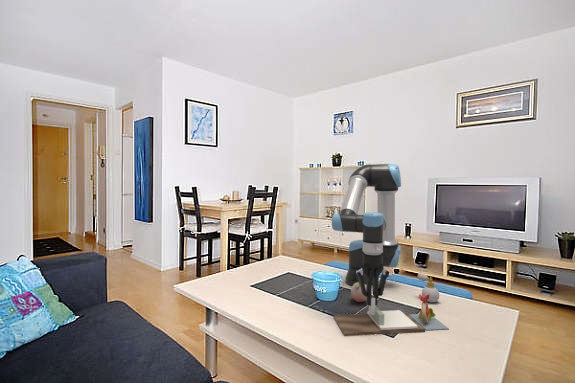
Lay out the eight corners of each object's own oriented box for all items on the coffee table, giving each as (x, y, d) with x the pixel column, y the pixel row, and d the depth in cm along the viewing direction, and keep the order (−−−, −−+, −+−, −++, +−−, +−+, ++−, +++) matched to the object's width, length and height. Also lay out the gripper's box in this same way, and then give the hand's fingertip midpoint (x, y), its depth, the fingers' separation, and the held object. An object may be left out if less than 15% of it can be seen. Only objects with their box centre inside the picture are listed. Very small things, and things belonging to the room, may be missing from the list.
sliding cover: (367, 313, 125) (367, 301, 125) (399, 312, 126) (400, 300, 126) (381, 329, 111) (381, 316, 111) (417, 328, 112) (417, 315, 112)
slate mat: (408, 315, 126) (408, 314, 126) (429, 314, 127) (429, 313, 127) (426, 330, 113) (426, 329, 113) (448, 329, 114) (448, 328, 114)
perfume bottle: (438, 306, 136) (438, 279, 135) (415, 301, 141) (415, 275, 141) (440, 300, 142) (440, 275, 142) (417, 296, 147) (418, 271, 147)
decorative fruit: (368, 307, 134) (368, 285, 133) (349, 305, 136) (349, 283, 136) (370, 300, 142) (370, 278, 142) (352, 297, 145) (352, 277, 145)
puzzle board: (333, 317, 124) (333, 315, 124) (405, 314, 127) (405, 312, 127) (344, 336, 109) (344, 333, 109) (425, 332, 112) (425, 329, 112)
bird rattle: (434, 330, 116) (435, 313, 124) (434, 308, 112) (435, 291, 119) (417, 327, 119) (418, 310, 127) (416, 305, 115) (418, 289, 122)
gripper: (359, 255, 113) (358, 318, 113) (393, 254, 114) (392, 317, 115) (353, 251, 120) (352, 310, 121) (384, 250, 121) (384, 308, 122)
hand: (371, 313), depth 118 cm, fingers closed
